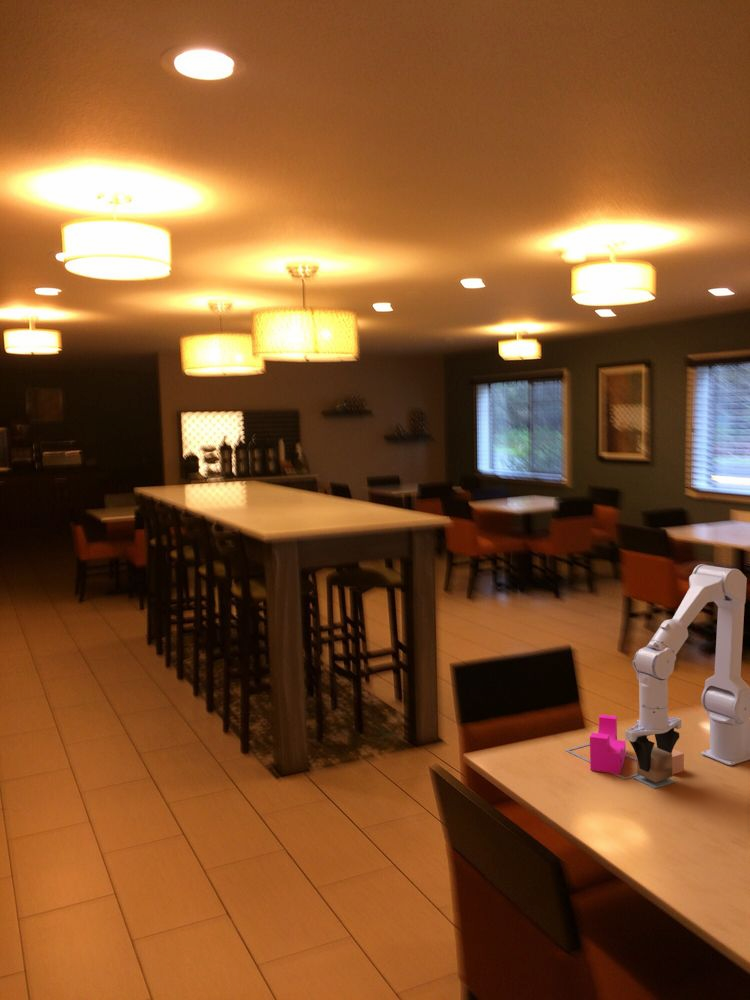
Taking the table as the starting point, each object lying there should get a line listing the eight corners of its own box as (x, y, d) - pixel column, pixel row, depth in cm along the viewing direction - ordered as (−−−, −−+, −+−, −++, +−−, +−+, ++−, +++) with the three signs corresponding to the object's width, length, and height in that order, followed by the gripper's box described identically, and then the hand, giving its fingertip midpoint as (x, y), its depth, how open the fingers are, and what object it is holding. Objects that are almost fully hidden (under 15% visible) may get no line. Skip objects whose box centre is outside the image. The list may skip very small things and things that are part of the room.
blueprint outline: (597, 741, 190) (597, 741, 190) (682, 779, 168) (682, 778, 168) (565, 750, 185) (565, 749, 185) (648, 790, 163) (648, 790, 163)
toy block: (619, 773, 171) (619, 740, 171) (590, 769, 174) (589, 736, 173) (628, 748, 185) (627, 717, 184) (600, 745, 188) (600, 714, 187)
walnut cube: (653, 768, 171) (653, 746, 171) (672, 776, 167) (672, 753, 166) (637, 773, 169) (636, 751, 168) (655, 782, 164) (655, 759, 164)
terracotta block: (669, 764, 176) (669, 747, 175) (683, 771, 172) (683, 753, 172) (656, 768, 174) (656, 751, 174) (670, 775, 170) (670, 757, 170)
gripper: (663, 693, 174) (663, 753, 175) (614, 705, 167) (615, 767, 168) (689, 702, 167) (689, 764, 168) (639, 715, 161) (640, 779, 162)
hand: (654, 766), depth 168 cm, fingers closed on walnut cube, 5 cm apart
